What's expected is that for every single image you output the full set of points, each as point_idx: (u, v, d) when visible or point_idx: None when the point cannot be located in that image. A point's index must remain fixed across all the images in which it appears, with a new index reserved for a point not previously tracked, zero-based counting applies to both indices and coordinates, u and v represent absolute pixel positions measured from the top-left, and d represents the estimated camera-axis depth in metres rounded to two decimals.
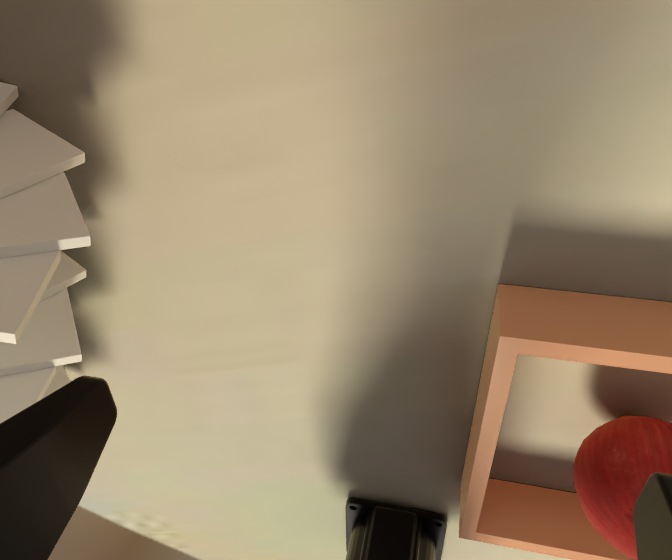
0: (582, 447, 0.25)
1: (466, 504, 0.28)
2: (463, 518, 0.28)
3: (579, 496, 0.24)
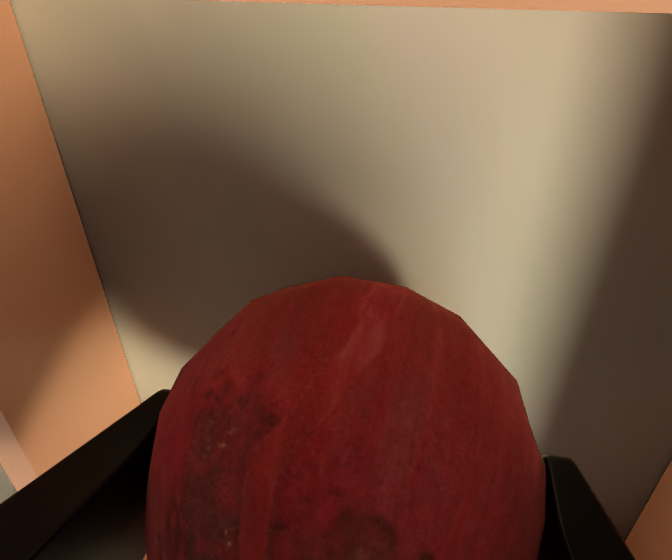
0: None
1: None
2: None
3: None
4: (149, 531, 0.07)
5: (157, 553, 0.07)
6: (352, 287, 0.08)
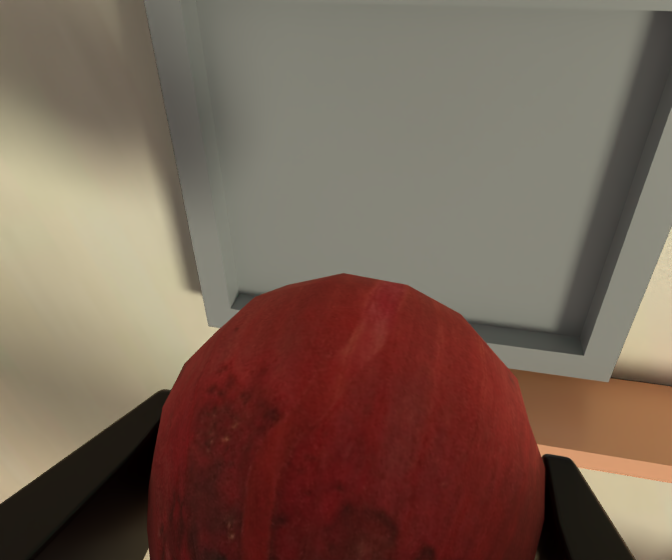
0: None
1: None
2: None
3: None
4: (152, 524, 0.07)
5: (160, 546, 0.07)
6: (354, 284, 0.08)
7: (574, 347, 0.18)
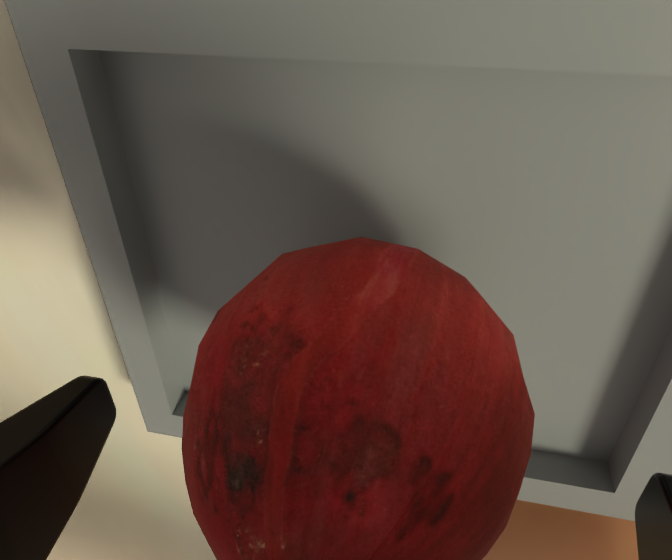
0: None
1: None
2: None
3: None
4: (187, 443, 0.08)
5: (196, 456, 0.08)
6: (371, 244, 0.09)
7: (602, 479, 0.14)
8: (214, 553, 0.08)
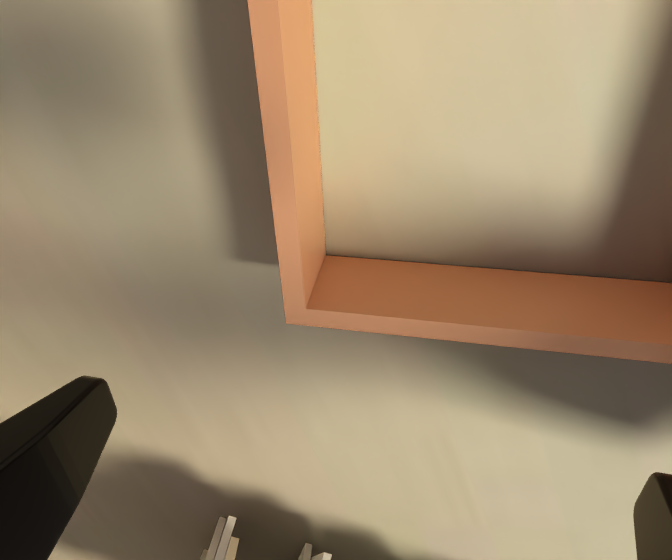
0: None
1: (618, 357, 0.18)
2: (661, 361, 0.18)
3: None
4: None
5: None
6: None
7: None
8: None
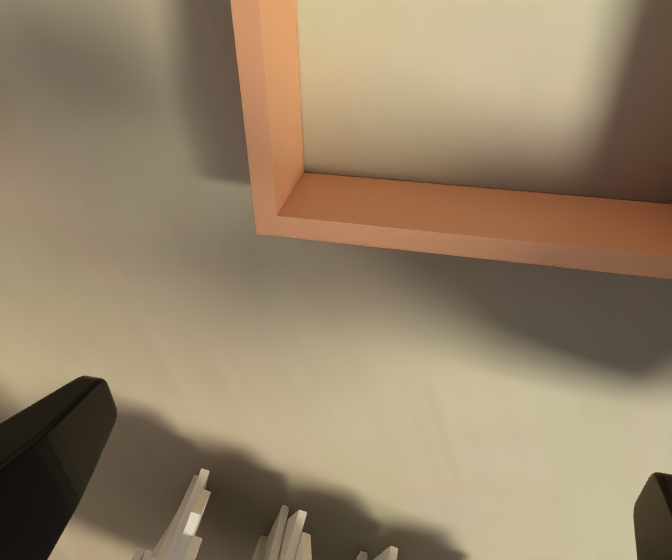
0: None
1: (609, 271, 0.17)
2: (655, 276, 0.16)
3: None
4: None
5: None
6: None
7: None
8: None
